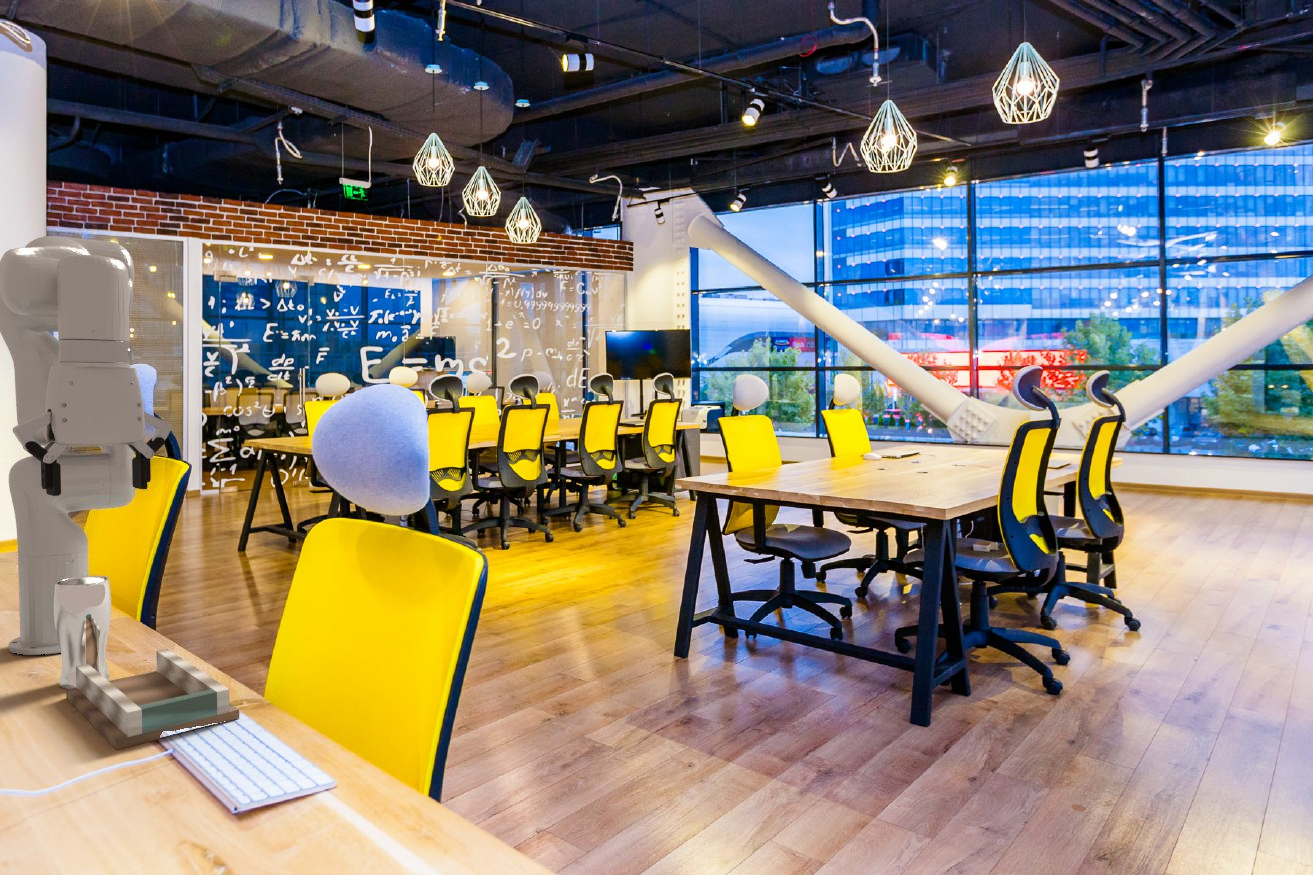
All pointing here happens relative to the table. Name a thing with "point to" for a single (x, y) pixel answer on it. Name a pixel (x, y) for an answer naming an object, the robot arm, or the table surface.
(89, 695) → the track board
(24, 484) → the robot arm
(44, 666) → the table surface
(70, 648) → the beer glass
